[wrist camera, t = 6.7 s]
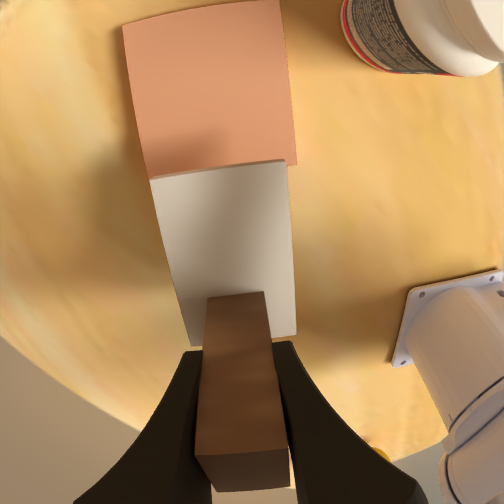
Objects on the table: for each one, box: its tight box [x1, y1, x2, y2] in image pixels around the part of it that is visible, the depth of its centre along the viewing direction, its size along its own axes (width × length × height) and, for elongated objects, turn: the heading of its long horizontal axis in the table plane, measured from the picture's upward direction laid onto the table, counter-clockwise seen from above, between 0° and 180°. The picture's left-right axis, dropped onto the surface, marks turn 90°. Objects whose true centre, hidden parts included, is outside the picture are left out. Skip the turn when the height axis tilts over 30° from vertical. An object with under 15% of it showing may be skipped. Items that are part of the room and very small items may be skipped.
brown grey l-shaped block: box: [149, 159, 296, 492], centre depth 10 cm, size 5×8×8 cm, turn 6°
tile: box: [122, 0, 297, 184], centre depth 13 cm, size 7×2×8 cm
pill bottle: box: [340, 0, 504, 77], centre depth 8 cm, size 5×5×9 cm
